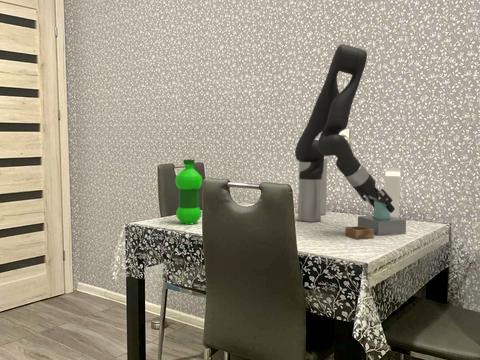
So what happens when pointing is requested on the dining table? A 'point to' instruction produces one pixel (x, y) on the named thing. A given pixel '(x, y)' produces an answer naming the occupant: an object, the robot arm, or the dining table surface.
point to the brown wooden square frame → (359, 232)
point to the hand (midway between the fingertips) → (385, 209)
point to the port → (383, 225)
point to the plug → (380, 211)
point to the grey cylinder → (324, 183)
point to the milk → (393, 188)
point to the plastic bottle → (188, 193)
